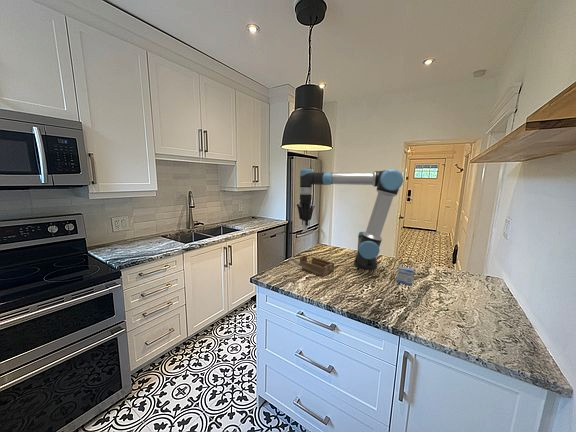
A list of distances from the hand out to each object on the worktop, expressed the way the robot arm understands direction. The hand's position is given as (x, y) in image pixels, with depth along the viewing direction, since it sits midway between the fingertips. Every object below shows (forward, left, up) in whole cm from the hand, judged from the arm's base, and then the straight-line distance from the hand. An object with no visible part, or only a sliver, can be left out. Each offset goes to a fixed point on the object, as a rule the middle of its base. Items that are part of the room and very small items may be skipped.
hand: (304, 230), depth 158 cm
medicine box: (-20, +57, -25) cm, 65 cm away
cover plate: (-1, -6, -25) cm, 25 cm away
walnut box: (0, +11, -24) cm, 27 cm away
